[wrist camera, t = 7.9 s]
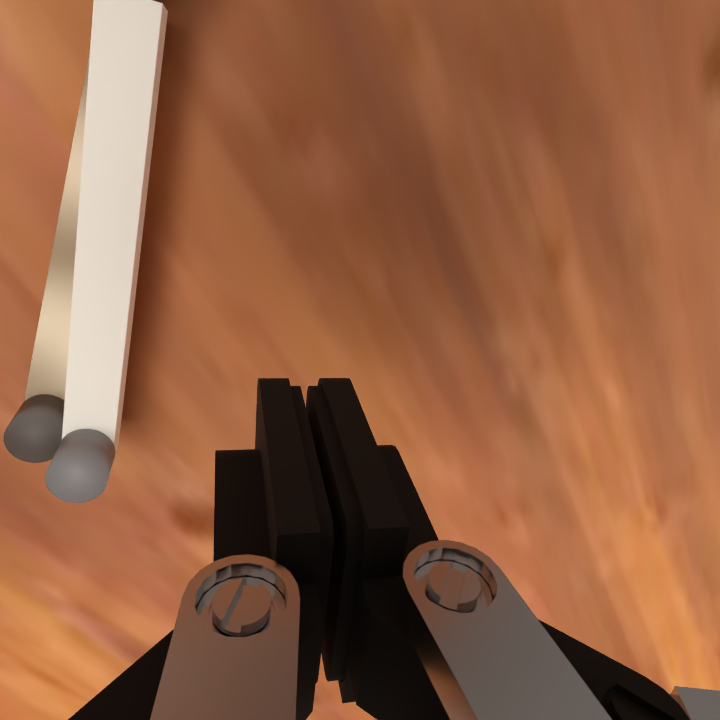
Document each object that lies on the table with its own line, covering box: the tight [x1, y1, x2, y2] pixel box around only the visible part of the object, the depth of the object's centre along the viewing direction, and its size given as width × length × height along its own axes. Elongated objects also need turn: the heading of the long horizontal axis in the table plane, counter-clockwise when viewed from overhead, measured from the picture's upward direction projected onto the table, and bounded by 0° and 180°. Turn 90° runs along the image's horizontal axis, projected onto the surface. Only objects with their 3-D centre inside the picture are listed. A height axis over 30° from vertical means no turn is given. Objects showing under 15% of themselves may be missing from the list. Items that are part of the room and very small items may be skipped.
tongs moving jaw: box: [45, 0, 168, 503], centre depth 21 cm, size 18×2×4 cm, turn 166°
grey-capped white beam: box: [4, 54, 90, 463], centre depth 22 cm, size 22×3×6 cm, turn 160°
